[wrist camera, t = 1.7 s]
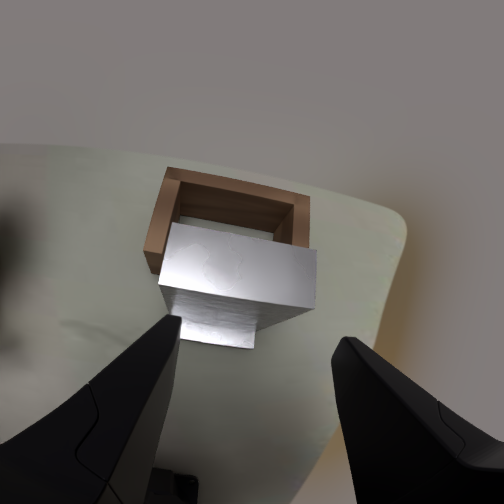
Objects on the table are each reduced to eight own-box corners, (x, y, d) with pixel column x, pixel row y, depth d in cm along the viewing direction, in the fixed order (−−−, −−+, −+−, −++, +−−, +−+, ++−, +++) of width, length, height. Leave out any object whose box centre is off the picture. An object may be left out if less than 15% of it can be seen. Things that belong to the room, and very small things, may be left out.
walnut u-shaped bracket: (282, 295, 23) (307, 279, 18) (151, 273, 21) (142, 250, 17) (287, 225, 25) (309, 196, 21) (169, 202, 23) (167, 166, 19)
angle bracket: (250, 349, 21) (312, 340, 11) (169, 336, 20) (152, 317, 10) (257, 284, 22) (317, 223, 12) (180, 271, 21) (179, 195, 11)
